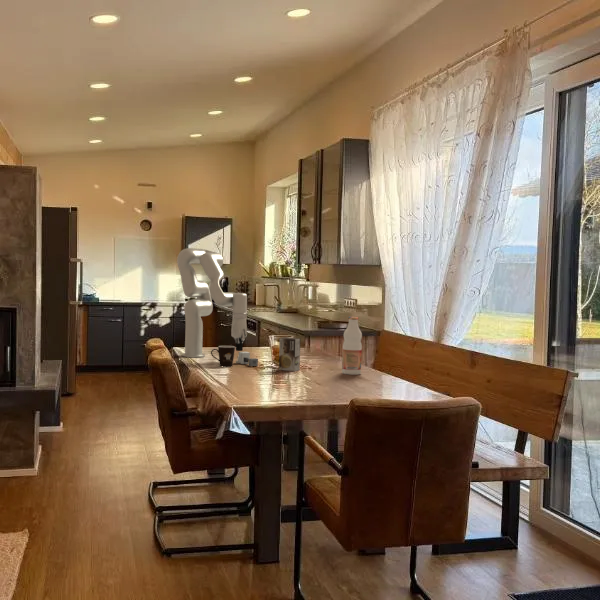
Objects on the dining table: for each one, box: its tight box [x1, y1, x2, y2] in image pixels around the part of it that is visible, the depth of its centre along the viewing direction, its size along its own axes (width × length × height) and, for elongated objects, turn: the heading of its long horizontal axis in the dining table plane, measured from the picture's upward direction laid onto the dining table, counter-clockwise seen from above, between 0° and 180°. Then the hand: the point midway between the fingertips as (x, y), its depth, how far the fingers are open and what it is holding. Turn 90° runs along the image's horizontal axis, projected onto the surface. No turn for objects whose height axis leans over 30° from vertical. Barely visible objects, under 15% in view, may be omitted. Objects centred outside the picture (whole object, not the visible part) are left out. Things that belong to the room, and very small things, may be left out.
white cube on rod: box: [237, 351, 251, 365], centre depth 379 cm, size 4×4×6 cm
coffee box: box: [278, 336, 301, 372], centre depth 362 cm, size 9×6×16 cm
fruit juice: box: [341, 316, 363, 376], centre depth 357 cm, size 9×9×28 cm
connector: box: [248, 357, 259, 367], centre depth 370 cm, size 2×4×4 cm, turn 121°
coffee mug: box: [210, 345, 236, 368], centre depth 368 cm, size 12×9×10 cm
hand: (239, 350), depth 385 cm, fingers closed
